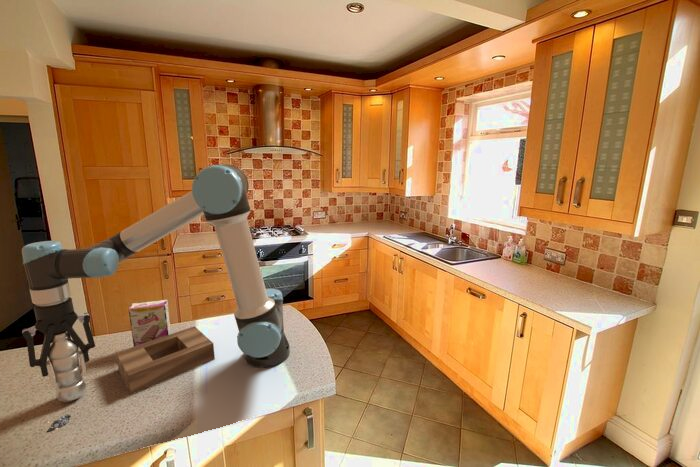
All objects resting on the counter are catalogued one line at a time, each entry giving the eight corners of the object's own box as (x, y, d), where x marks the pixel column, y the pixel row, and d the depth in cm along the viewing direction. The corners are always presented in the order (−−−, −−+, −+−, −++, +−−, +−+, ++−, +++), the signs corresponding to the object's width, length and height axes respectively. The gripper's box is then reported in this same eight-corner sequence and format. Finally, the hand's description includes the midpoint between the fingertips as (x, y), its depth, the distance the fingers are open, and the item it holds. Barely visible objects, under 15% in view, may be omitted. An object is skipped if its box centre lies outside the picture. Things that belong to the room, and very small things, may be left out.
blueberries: (32, 438, 80) (30, 432, 79) (58, 411, 87) (57, 406, 87) (61, 437, 80) (59, 431, 79) (85, 411, 88) (83, 405, 87)
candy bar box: (134, 353, 113) (127, 309, 110) (137, 345, 118) (131, 303, 114) (170, 347, 117) (165, 304, 114) (172, 340, 122) (167, 298, 118)
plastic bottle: (80, 386, 96) (67, 324, 92) (92, 393, 93) (79, 329, 89) (52, 400, 91) (37, 334, 86) (64, 408, 88) (49, 340, 83)
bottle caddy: (214, 359, 110) (213, 343, 109) (131, 394, 94) (128, 375, 92) (196, 341, 121) (194, 326, 120) (118, 369, 104) (115, 352, 103)
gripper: (95, 287, 95) (108, 358, 100) (0, 307, 82) (20, 388, 87) (100, 294, 90) (113, 369, 95) (-1, 317, 77) (21, 403, 82)
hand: (69, 378), depth 91 cm, fingers closed on plastic bottle, 6 cm apart
